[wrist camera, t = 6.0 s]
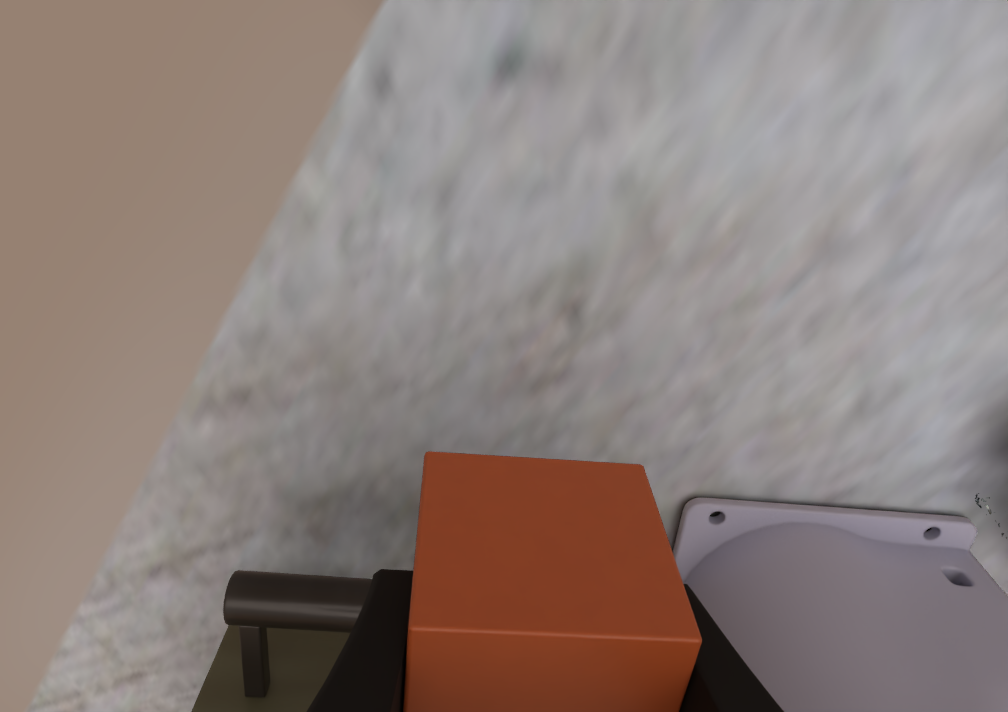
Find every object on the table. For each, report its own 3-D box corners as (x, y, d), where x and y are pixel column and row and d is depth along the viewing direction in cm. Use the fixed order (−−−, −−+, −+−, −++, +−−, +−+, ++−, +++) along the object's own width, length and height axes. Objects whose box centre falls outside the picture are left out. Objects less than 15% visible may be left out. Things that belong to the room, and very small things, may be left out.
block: (643, 462, 13) (705, 640, 10) (607, 618, 15) (647, 814, 12) (425, 449, 13) (407, 627, 10) (414, 609, 15) (397, 808, 11)
